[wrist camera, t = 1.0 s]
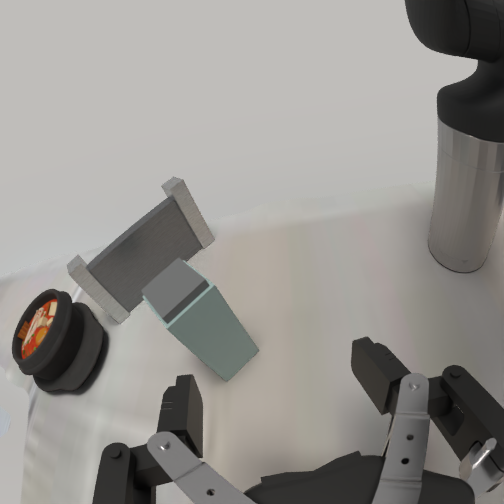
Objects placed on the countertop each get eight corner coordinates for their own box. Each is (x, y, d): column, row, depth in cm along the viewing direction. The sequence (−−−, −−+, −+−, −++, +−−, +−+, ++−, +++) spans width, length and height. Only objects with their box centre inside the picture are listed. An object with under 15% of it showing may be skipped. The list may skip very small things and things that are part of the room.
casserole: (25, 371, 36) (-5, 350, 30) (60, 302, 48) (35, 277, 42) (83, 421, 26) (37, 399, 21) (128, 317, 38) (94, 283, 33)
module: (231, 326, 32) (179, 253, 23) (259, 350, 29) (210, 278, 20) (201, 355, 30) (137, 291, 22) (227, 381, 27) (160, 323, 18)
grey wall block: (197, 229, 49) (167, 174, 41) (214, 239, 45) (183, 179, 37) (110, 306, 41) (65, 258, 33) (120, 324, 38) (68, 274, 30)
